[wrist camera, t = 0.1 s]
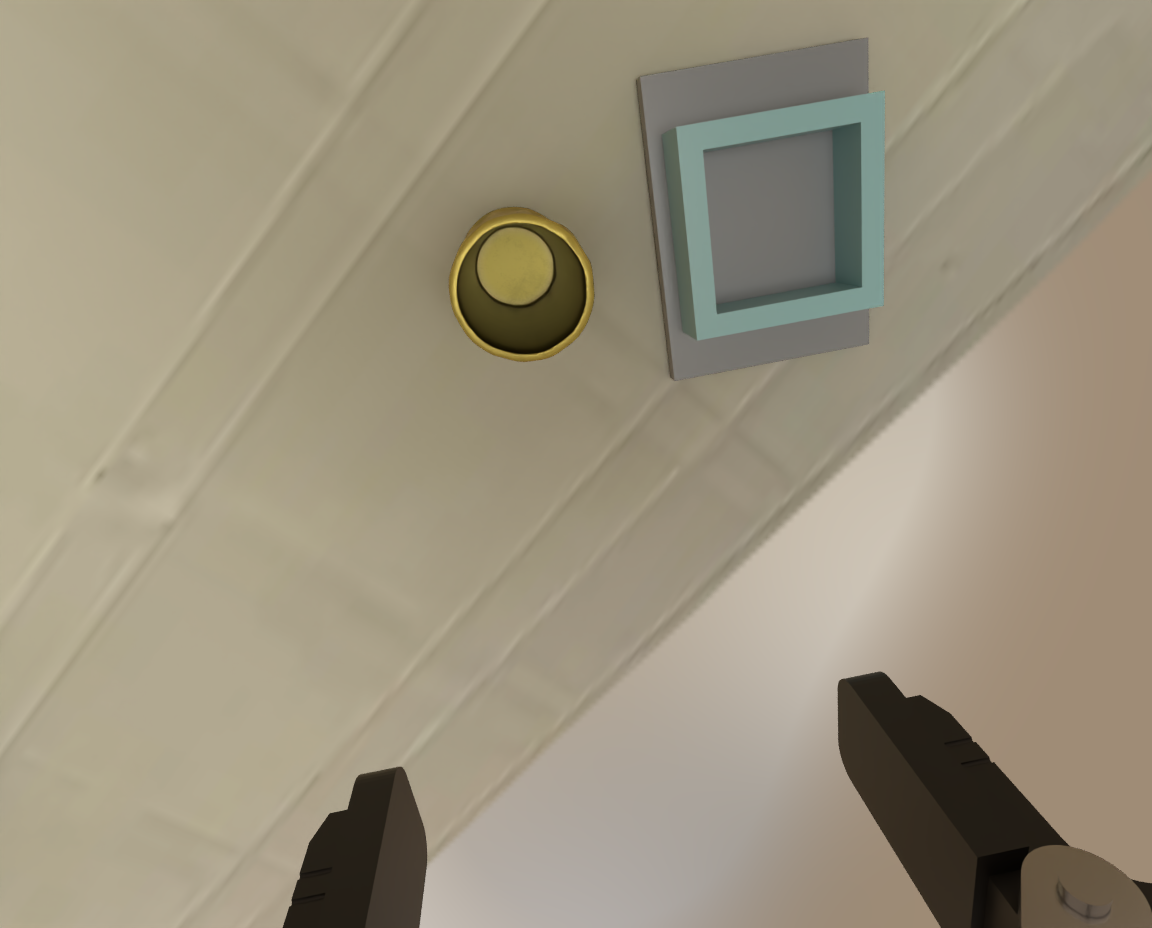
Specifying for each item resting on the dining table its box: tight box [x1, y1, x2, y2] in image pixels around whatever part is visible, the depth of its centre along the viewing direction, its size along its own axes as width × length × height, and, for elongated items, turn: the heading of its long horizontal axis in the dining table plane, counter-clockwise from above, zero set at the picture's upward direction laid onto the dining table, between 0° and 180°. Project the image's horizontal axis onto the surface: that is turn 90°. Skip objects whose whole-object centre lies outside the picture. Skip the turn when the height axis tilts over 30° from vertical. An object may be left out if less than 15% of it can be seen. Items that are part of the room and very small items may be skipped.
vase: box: [449, 207, 594, 362], centre depth 30 cm, size 6×6×14 cm
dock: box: [636, 38, 885, 381], centre depth 35 cm, size 16×12×4 cm
